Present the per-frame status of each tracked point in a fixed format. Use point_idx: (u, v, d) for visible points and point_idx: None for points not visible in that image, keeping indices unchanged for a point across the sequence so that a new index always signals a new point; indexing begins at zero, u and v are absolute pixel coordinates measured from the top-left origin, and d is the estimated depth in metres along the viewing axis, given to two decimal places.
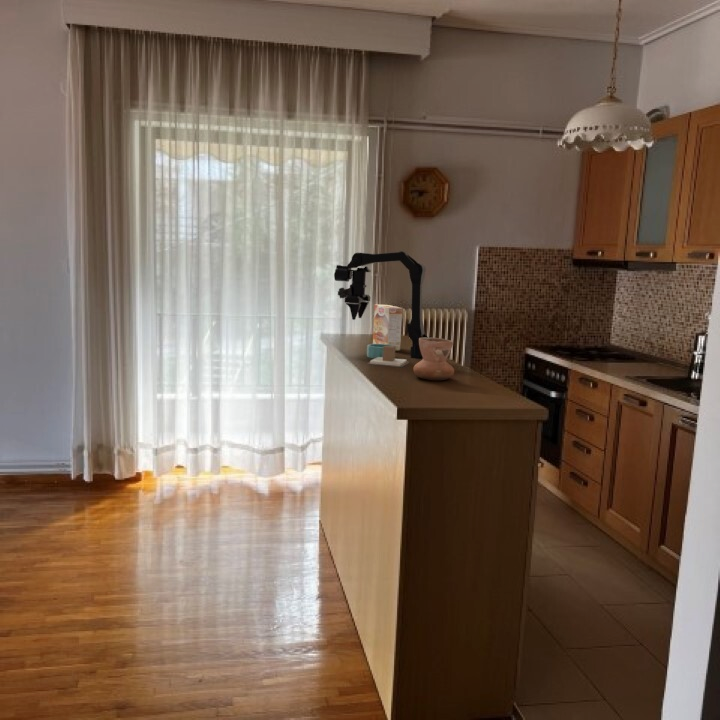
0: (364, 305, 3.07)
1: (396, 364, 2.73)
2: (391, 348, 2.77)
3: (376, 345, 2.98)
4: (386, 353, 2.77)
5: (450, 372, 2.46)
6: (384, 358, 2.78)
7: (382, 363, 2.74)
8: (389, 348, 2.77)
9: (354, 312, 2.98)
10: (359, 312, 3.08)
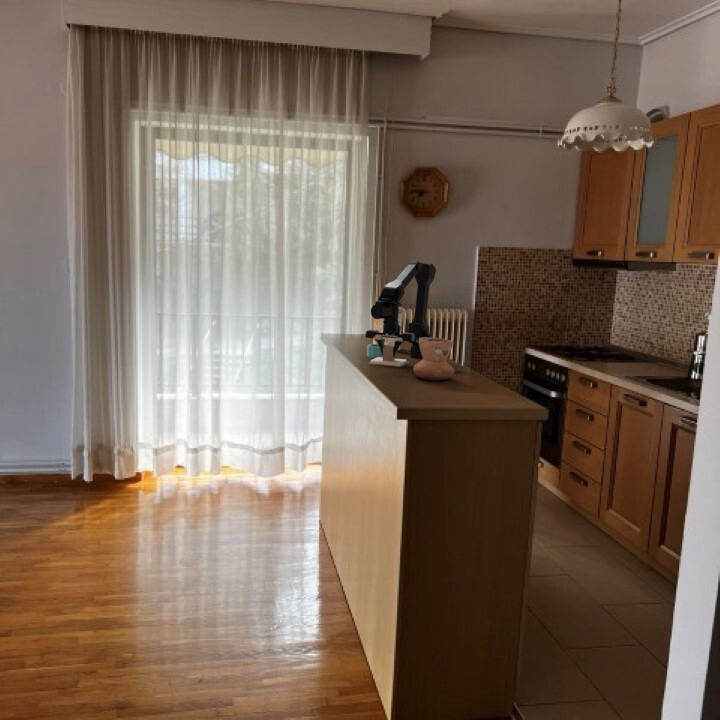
0: None
1: (396, 364, 2.73)
2: (391, 348, 2.77)
3: (376, 345, 2.98)
4: (386, 353, 2.77)
5: (450, 372, 2.46)
6: (384, 358, 2.78)
7: (382, 363, 2.74)
8: (389, 348, 2.77)
9: None
10: None
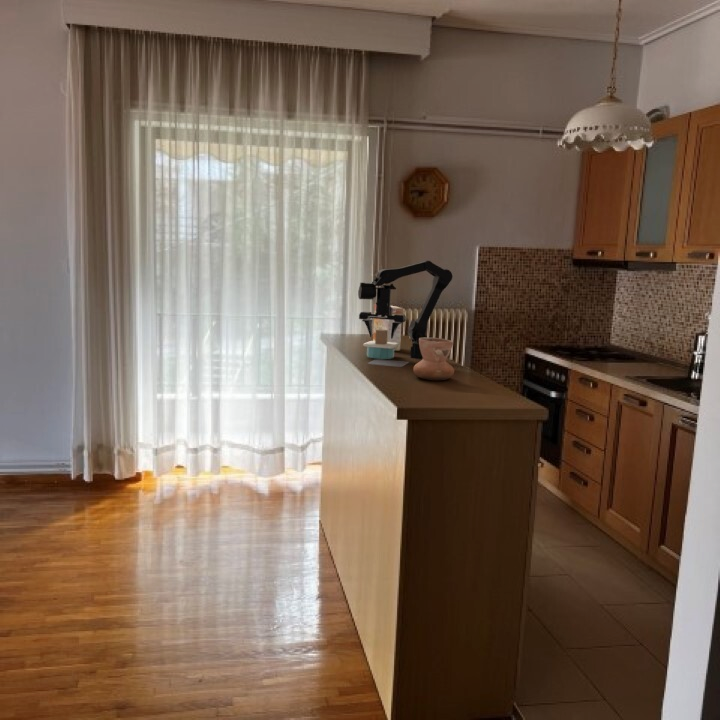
0: None
1: (388, 346, 2.87)
2: (383, 331, 2.91)
3: None
4: (379, 337, 2.92)
5: (450, 372, 2.46)
6: (377, 341, 2.92)
7: (375, 346, 2.89)
8: (381, 332, 2.91)
9: None
10: None
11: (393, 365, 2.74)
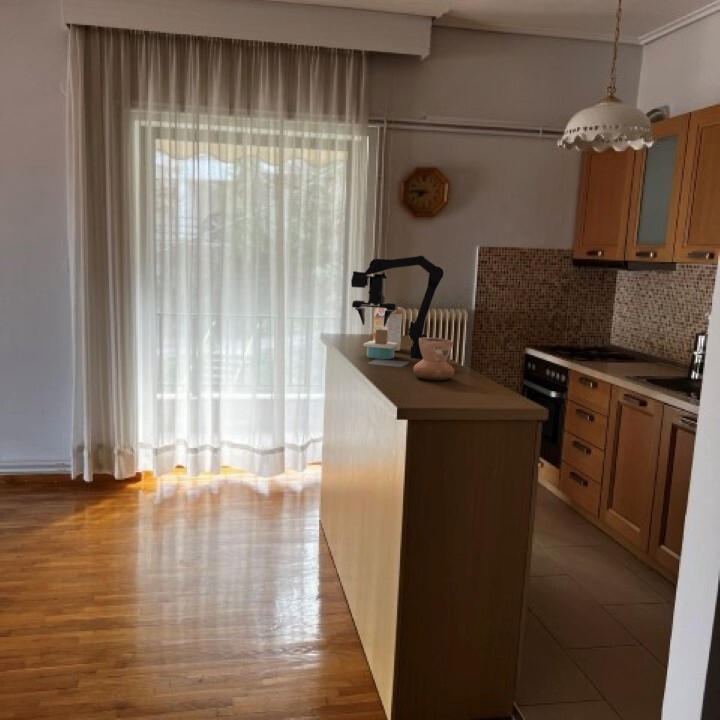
0: None
1: (388, 346, 2.87)
2: (383, 331, 2.91)
3: None
4: (379, 337, 2.92)
5: (450, 372, 2.46)
6: (377, 341, 2.92)
7: (375, 346, 2.89)
8: (381, 332, 2.91)
9: None
10: None
11: (393, 365, 2.74)
